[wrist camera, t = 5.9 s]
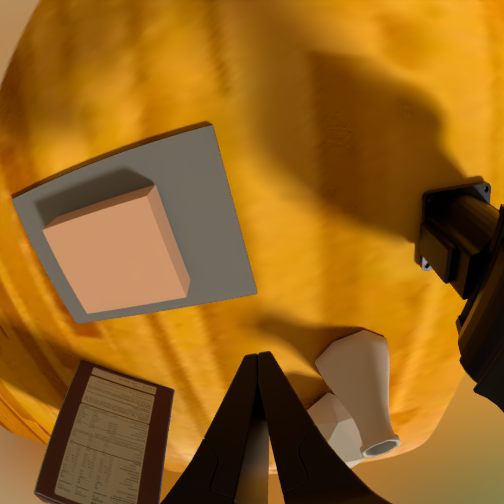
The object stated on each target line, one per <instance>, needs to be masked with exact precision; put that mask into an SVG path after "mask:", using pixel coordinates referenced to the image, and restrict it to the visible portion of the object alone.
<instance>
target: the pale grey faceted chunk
mask: <svg viewBox="0 0 504 504" xmlns="http://www.w3.org/2000/svg"><path fill="white" fill-rule="evenodd" d="M307 412H308V413H309V415H310V416H311V418H312V420H313V421H314V423H315V425H316V426H317V427H318V429H319V430H320V432H321V434H322V435H323V436H324V438H325V439H326V441H327V442H328V444H329V445H330V446H331V447H332V449H333V450H334V451H335V452H336V453H337V455H338V456H339V457H340V458H341V459H342V460H343V461H344V462H345V463H346V465H347V466H348V467H349V468H351V467H353V466H355V465H356V464H358V463H360V462H361V461H363V460H364V459H366V458H364V457H363V456H362V454H361V452H360V447H361V446H362V440H361V437H360V433H359V430H358V428H357V426H356V424H355V422H354V420H353V418H352V417H351V416H350V414H349V413H348V411H347V410H346V409H345V407H344V406H343V405H342V403H341V402H340V400H339V399H338V398H337V397H336V395H333V394H331V393H329V392H328V393H326V394H325V395H324V396H323V397H322V398H321V399H320V400H319V401H317V402H316V403H315V404H314V405H313V406H312V407H311V408H309V409H308V410H307Z"/></svg>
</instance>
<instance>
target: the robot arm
mask: <svg viewBox="0 0 504 504" xmlns="http://www.w3.org/2000/svg"><path fill="white" fill-rule="evenodd" d="M485 187H486V188H485ZM484 189H485V190H484ZM490 193H491V186H490V184H489V183H487V182H478V183H472V184H466V185H460V186H454V187H448V188H442V189H436V190H430V191H427V192H425V193H424V195H423V207H422V222H421V227H420V248H419V253H420V267H421V268H422V269H423V271H428V270H432V269H433V270H434V271H435V272H436V273H437V274H438V276H439V277H440V278H441V279H442V281H443V282H444V283H446V284H447V283H450V284H451V285H452V286H453V288H454V289H455V290H456V292H457V293H458V294H459V295H460V297H461V298H462V299H463V300H465V299H468V300H467V302H466V304H465V307H464V309H463V311H462V313H461V315H459V316H458V318H457V320H456V326H457V330H458V334H459V338H458V346H459V350H460V354H461V357H460V360H459V361H460V363H461V365H462V367H463V368H464V370H465V372H466V373H467V374H468V375H469V376H470V377H471V379H472V380H473V381H475V382H476V383H477V385H476V386H475V387H474V389H473V390H474V392H475V393H477V394H479V395H481V396H484V397H486V398H488V399H489V400H490V401H492V402H493V403H495V404H496V405H497V406H498V407H499V408H500V409H501V410H502V411H503V412H504V204H501V206H500V209H499V210H498V209H496V208H495V207H494V206H492V205H491V204H490ZM430 196H431V199H430V200H429V201H428V198H429V197H430ZM426 263H427V265H425V264H426ZM269 436H270V441H271V445H272V450H273V454H274V458H275V463H276V467H277V471H278V476H279V480H280V484H281V488H282V492H283V495H284V501H285V504H392V503H390V502H389V501H387V500H386V499H384V498H382V497H381V496H379V495H378V494H376V493H375V492H374V491H372V490H371V489H370V488H369V487H368V486H367V485H366V484H365V483H363V482H362V481H361V479H359V477H358V476H357V475H356V474H355V473H354V472H353V471H352V470H351V469H350V468H349V467H348V466H347V465H346V463H345V462H344V461H343V460H342V459H341V458H340V457H339V456H338V455H337V453H336V452H335V451H334V450H333V449H332V447H331V446H330V445H329V444H328V442H327V441H326V439H325V438H324V436H323V435H322V434H321V432H320V430H319V429H318V427H317V426H316V425H315V423H314V421H313V420H312V418H311V416H310V415H309V413H308V412H307V410H306V408H305V407H304V405H303V404H302V402H301V400H300V399H299V397H298V396H297V394H296V392H295V391H294V389H293V387H292V386H291V384H290V383H289V381H288V379H287V378H286V376H285V374H284V373H283V371H282V369H281V368H280V366H279V364H278V363H277V361H276V359H275V358H274V356H273V354H272V353H271V352H270V351H266V352H261V353H259V354H256V353H255V354H249V355H245V356H244V358H243V360H242V362H241V364H240V366H239V368H238V370H237V373H236V375H235V377H234V379H233V381H232V383H231V385H230V387H229V389H228V391H227V393H226V395H225V397H224V399H223V401H222V403H221V405H220V407H219V409H218V411H217V413H216V415H215V417H214V419H213V421H212V423H211V425H210V427H209V429H208V431H207V433H206V435H205V436H204V438H205V439H203V440H202V442H201V444H200V446H199V448H198V450H197V452H196V453H195V455H194V457H193V459H192V460H191V462H190V463H189V465H188V466H187V468H186V469H185V471H184V472H183V474H182V475H181V476H180V478H179V479H178V481H177V482H176V484H175V485H174V486H173V487H172V489H171V490H170V492H169V493H168V494H167V496H166V497H165V498H164V500H163V501H162V502H161V503H160V504H268V469H269Z"/></svg>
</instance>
